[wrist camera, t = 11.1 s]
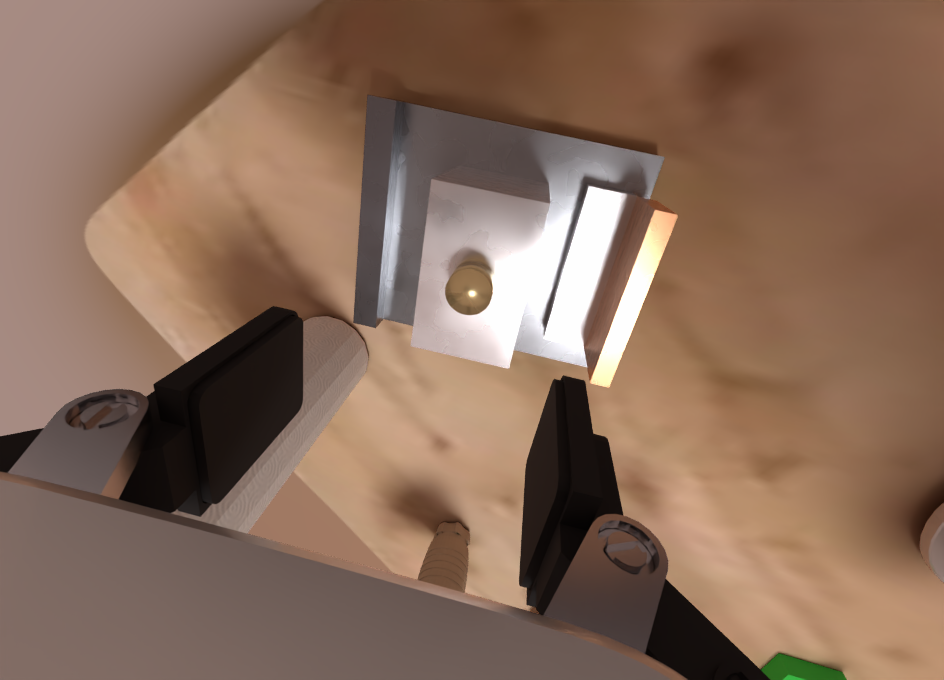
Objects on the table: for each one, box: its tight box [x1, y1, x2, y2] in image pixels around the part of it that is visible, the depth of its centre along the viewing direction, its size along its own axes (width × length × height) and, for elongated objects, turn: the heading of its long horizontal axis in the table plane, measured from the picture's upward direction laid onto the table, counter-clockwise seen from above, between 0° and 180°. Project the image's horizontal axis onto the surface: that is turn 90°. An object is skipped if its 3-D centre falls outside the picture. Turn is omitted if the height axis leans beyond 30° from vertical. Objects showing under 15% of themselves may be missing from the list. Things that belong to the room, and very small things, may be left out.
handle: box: [418, 522, 470, 593], centre depth 33 cm, size 5×6×15 cm
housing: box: [411, 166, 550, 369], centre depth 22 cm, size 5×8×8 cm, turn 170°
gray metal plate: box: [353, 95, 665, 367], centre depth 26 cm, size 16×13×3 cm
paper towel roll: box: [172, 316, 369, 533], centre depth 23 cm, size 7×6×21 cm
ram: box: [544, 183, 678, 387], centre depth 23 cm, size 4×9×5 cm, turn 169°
